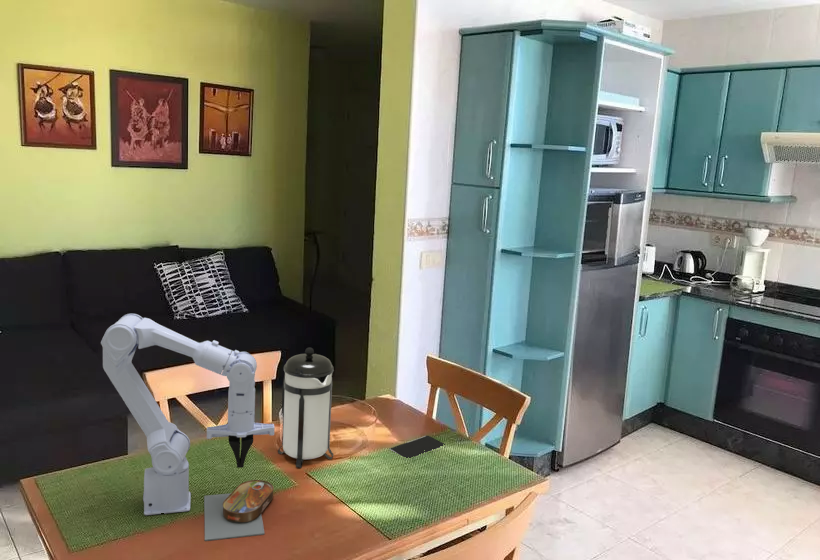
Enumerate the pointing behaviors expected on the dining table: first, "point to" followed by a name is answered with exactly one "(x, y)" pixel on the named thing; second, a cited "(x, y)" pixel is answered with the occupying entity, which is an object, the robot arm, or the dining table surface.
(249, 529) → the mat
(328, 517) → the dining table surface
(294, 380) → the coffee press
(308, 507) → the dining table surface
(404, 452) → the smartphone
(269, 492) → the tin
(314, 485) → the dining table surface
